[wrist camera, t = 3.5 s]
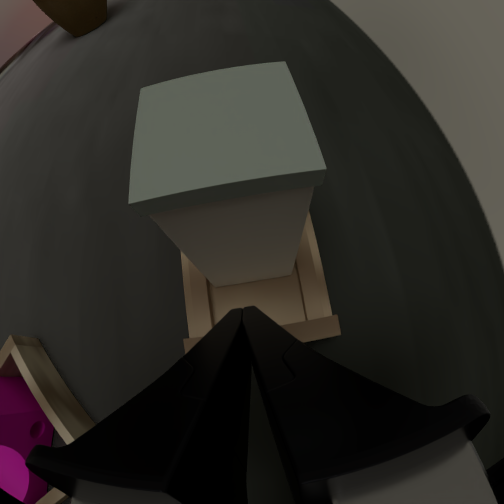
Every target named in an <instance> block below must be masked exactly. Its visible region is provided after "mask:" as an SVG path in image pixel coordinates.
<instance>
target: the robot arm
mask: <svg viewBox="0 0 504 504" xmlns="http://www.w3.org/2000/svg"><path fill="white" fill-rule="evenodd" d="M251 361H252V365H253V369H254V373H255V376H256V379H257V383H258V386H259V390H260V393H261V396H262V400H263V403H264V406H265V410H266V413H267V416H268V419H269V423H270V426H271V429H272V432H273V436H274V439H275V442H276V445H277V448H278V451H279V455H280V458H281V461H282V464H283V467H284V470H285V473H286V476H287V479H288V483H289V486H290V489H291V492H292V495H293V498H294V501H295V504H504V458H503V459H501V460H500V461H499V462H497V463H496V464H494V465H493V466H492V467H490V468H489V469H487V470H485V468H484V466H483V464H482V462H481V460H480V458H479V456H478V454H477V452H476V450H475V448H474V446H473V444H472V442H471V441H472V440H473V439H474V438H475V437H476V435H477V434H478V433H479V432H480V431H481V430H482V428H483V427H484V426H485V425H486V423H487V422H488V420H489V418H490V412H489V411H488V409H487V408H486V406H485V405H484V403H482V402H481V400H480V399H478V398H477V397H476V396H475V395H472V394H468V395H464V396H462V397H459V398H457V399H455V400H453V401H451V402H449V403H447V404H444V405H442V406H435V407H434V406H426V405H423V404H420V403H418V402H416V401H414V400H412V399H409V398H407V397H405V396H403V395H401V394H399V393H396V392H394V391H392V390H390V389H388V388H386V387H384V386H382V385H380V384H378V383H376V382H373V381H371V380H369V379H367V378H365V377H363V376H361V375H359V374H357V373H355V372H353V371H351V370H349V369H347V368H345V367H343V366H342V365H340V364H338V363H336V362H334V361H332V360H330V359H328V358H326V357H324V356H323V355H321V354H319V353H317V352H316V351H314V350H313V349H311V348H310V347H308V346H307V345H305V344H304V343H303V342H301V341H300V340H298V339H297V338H296V337H294V336H293V335H292V334H290V333H289V332H288V331H286V330H285V329H284V328H283V327H281V326H280V325H279V324H277V323H276V322H275V321H274V320H272V319H271V318H270V317H269V316H267V315H266V314H265V313H263V312H262V311H261V310H260V309H258V308H257V307H256V306H254V305H253V306H247V307H244V308H243V309H242V308H235V309H231V310H230V311H229V312H228V313H227V314H226V315H225V316H224V317H223V318H222V319H221V320H220V321H219V322H218V323H217V324H216V325H215V326H214V327H213V328H212V329H211V330H210V331H209V332H208V333H207V334H206V335H205V336H204V337H203V338H202V339H201V340H200V341H198V342H197V343H196V344H195V345H194V346H193V347H192V348H191V349H190V350H189V351H188V352H187V353H186V354H185V355H184V356H183V358H181V359H179V360H178V361H177V362H176V363H175V364H174V365H173V366H172V367H171V368H170V369H169V370H168V371H167V372H165V373H164V374H163V375H162V376H161V377H159V378H158V379H157V380H156V381H154V382H153V383H152V384H150V385H149V386H148V387H146V388H145V389H144V390H143V391H141V392H140V393H139V394H137V395H136V396H135V397H133V398H132V399H131V400H129V401H128V402H127V403H125V404H124V405H123V406H121V407H120V408H119V409H117V410H116V411H114V412H113V413H112V414H110V415H109V416H108V417H106V418H105V419H104V420H102V421H101V422H99V423H98V424H97V425H95V426H94V427H92V428H91V429H90V430H88V431H87V432H85V433H84V434H83V435H81V436H80V437H78V438H77V439H75V440H74V441H73V442H71V443H69V444H68V445H66V446H63V447H57V448H56V447H50V446H46V445H41V444H37V445H35V446H34V447H33V448H32V450H31V451H30V453H29V454H28V456H27V458H26V461H25V465H26V467H27V468H28V469H29V470H30V471H31V472H33V473H34V474H35V475H37V476H38V477H39V478H41V479H42V480H44V481H45V482H47V483H48V484H50V485H51V486H53V487H55V488H56V489H58V490H59V491H61V492H63V493H64V494H66V495H68V496H69V497H71V500H70V504H248V499H247V488H246V472H247V453H248V432H249V411H250V390H251ZM0 504H25V503H23V502H22V501H20V500H18V499H17V498H15V497H13V496H12V495H10V494H9V493H7V492H6V491H4V490H3V489H2V488H0Z"/></svg>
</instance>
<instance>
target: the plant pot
mask: <svg viewBox="0 0 504 504" xmlns="http://www.w3.org/2000/svg"><path fill="white" fill-rule="evenodd" d="M33 1H34V2H35V3H36V5H37V6H38V7H39V8H40V9H41V10H42V11H43V12H44V13H45V14H46V15H47V16H48V17H50V18H51V19H52V20H53V21H54V22H55V23H57V24H58V25H59V26H61V27H62V28H63V29H65V30H66V31H67V32H69V33H70V34H72V35H73V36H75V37H79V36H82V35H84V34H86V33H89V32H90V31H92V30H94V29H95V28H97V27H98V26H100V25H101V24H102V23H103V22H104V21H105V20H106V18H107V0H33Z"/></svg>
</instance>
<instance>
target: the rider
mask: <svg viewBox="0 0 504 504" xmlns="http://www.w3.org/2000/svg"><path fill="white" fill-rule="evenodd" d="M325 173H326V166H325V163H324V160H323V157H322V154H321V151H320V148H319V145H318V142H317V140H316V137H315V134H314V131H313V129H312V126H311V123H310V121H309V118H308V116H307V113H306V110H305V108H304V105H303V103H302V100H301V98H300V95H299V93H298V91H297V88H296V86H295V83H294V81H293V79H292V76H291V74H290V72H289V69H288V67H287V65H286V63H285V62H273V63H263V64H255V65H247V66H239V67H233V68H227V69H221V70H215V71H210V72H205V73H200V74H195V75H190V76H186V77H182V78H177V79H173V80H169V81H166V82H162V83H158V84H155V85H151V86H148V87H144V88H141V92H140V98H139V104H138V110H137V117H136V125H135V133H134V141H133V151H132V161H131V173H130V188H129V205H130V206H131V207H132V208H133V209H134V210H135V211H136V212H137V213H138V214H139V216H140V217H141V216H145V215H149V216H150V217H151V218H152V219H153V220H154V221H155V222H156V224H157V225H158V226H159V227H160V228H161V229H162V230H163V231H164V233H165V234H166V235H167V236H168V237H169V238H170V239H171V240H172V241H173V243H174V244H175V245H176V246H177V247H178V248H179V249H180V250H181V251H182V252H183V253H184V255H185V256H186V257H187V258H188V259H189V260H190V261H191V262H192V263H193V264H194V265H195V266H196V267H197V269H198V270H199V271H200V272H201V273H202V274H203V275H204V276H205V277H206V278H207V279H208V280H209V281H210V282H211V283H212V284H213V285H214V286H215V287H221V286H228V285H234V284H240V283H247V282H253V281H259V280H265V279H271V278H277V277H283V276H289V275H291V274H292V270H293V267H294V263H295V259H296V256H297V252H298V248H299V244H300V241H301V237H302V233H303V229H304V225H305V222H306V218H307V214H308V210H309V206H310V202H311V198H312V194H313V189H314V186H319V185H322V184H323V180H324V177H325Z"/></svg>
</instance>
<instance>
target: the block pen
mask: <svg viewBox="0 0 504 504" xmlns="http://www.w3.org/2000/svg"><path fill="white" fill-rule="evenodd" d="M22 376H23V378H24V380H25V381H26V383H27V385H28V387H29V388H30V390H31V392H32V394H33V395H34V397H35V399H36V400H37V402H38V403H39V405H40V407H41V408H42V410H43V411H44V413H45V414H46V416H47V417H48V419H49V420H50V422H51V423H52V425H53V426H54V427H55V429H56V430H57V432H58V433H59V434H60V436H61V437H62V438H63V440H64V441H65V442H66V444H67V445H68V444H69V443H71V442H73V441H74V440H75V439H77V438H78V437H80V436H81V435H83V434H84V433H85V432H87V431H88V430H90V429H91V428H92V427H94V426H95V425H96V424H95V423H94V422H93V421H92V420H91V418H90V417H89V416H88V414H87V413H86V412H85V410H84V409H83V408H82V407H81V405H80V404H79V402H78V401H77V400H76V398H75V397H74V395H73V394H72V393H71V391H70V390H69V388H68V387H67V385H66V384H65V382H64V381H63V379H62V378H61V376H60V375H59V373H58V372H57V370H56V368H55V367H54V365H53V364H52V362H51V360H50V359H49V357H48V355H47V354H46V352H45V350H44V348H43V347H42V345H41V343H40V341H39V339H38V338H31V337H24V336H17V335H10V336H9V338H8V339H7V341H6V343H5V344H4V346H3V348H2V349H1V351H0V377H22ZM68 497H69V496H68V495H66V494H64V493H63V492H61V491H59V490H58V489H56V488H55V487H54V488H53V489H52V490H51V491H49V492H48V493H47V494H46V495H45V496H44V497H42V498H41V499H40V500H39V501H38V502H36V503H35V504H60V503H62V502H63V501H64V500H66V499H67V498H68Z"/></svg>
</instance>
